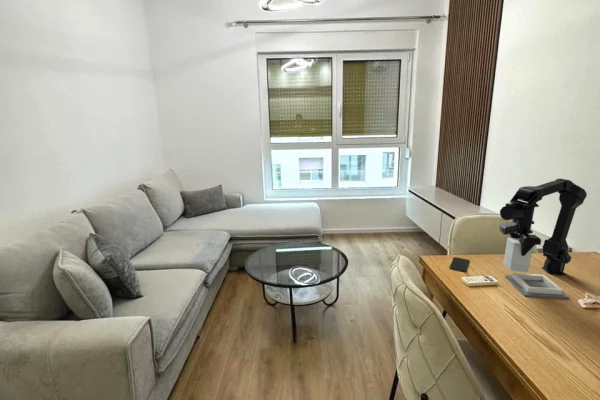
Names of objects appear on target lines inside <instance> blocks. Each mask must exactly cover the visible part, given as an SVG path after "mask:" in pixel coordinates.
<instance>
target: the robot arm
mask: <svg viewBox="0 0 600 400" xmlns="http://www.w3.org/2000/svg"><path fill="white" fill-rule="evenodd" d="M555 193H558V194H559V197H558V200H559V202H560V205H561V206H560V210H559V213H558V215H557V218H556V221H555V222H556V223H555V226H554V229H553V231H552V232H553V233H552V235H551V236H550V237H549V238H548V239H545V240H544V242H543V244H542V238H540V237H539V236H538V235H536V234H533V232H534V231H533V230H532V225H535V221H534V220H533V218H534V213H535V208H539V207H540V206H539V204H538V202H540V201H541V200H543V197H545V196H548V195H552V194H555ZM587 195H588V194H587V191H586V190H585V188H583V187H581V186H579V185H577V184H576V183H574V182H573V181H572V180H570V179H565V178H557V179H555V180H553V181H549V182H545V183H541V184H540V185H536V186H532V185H531V186H530V185H527V186H520V187H519V188H518V190H516V192H515V193H514V195H513V196H512V198H511V199H510V201H509V202H506V203H505V206H502V207H501V209H500V210H499V214H500V217H501V219H502V220H505V221H508V222H504V223H500V224H498V226H499V227H498V228H499V231H500V233H502V234H503V235H509V238H520V241H519V240H518V241H519V242H520V243H521V255H522V256H525V255H526V254H527V253H528V251H529V250H530V249H531V248H532V247H533V248H534V247H535V246H540V245H541V244H542V256H543V257H545V258H546V259H545V260H544V265H543V266H541V267H542V269H543V270H544V271H546V272H547V273H548V274H550V275H563V276H566V275H567V273H566V272H564V271H565V267H566V264H569V263H570V262H571V260H572V256H571V255H570V253H569V252H568V251H569V245H568V242H567V238H568V234H569V232H570V228H571V224H572V221H573V219H574V216H575V213H576V210H577V208H579V207H580V206H581V205H582V204H583V203H584V202H585V199H586V198H587ZM510 220H512V221H510Z"/></svg>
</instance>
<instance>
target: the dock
mask: <svg viewBox="0 0 600 400" xmlns="http://www.w3.org/2000/svg"><path fill="white" fill-rule="evenodd" d="M504 277H505V278H506V279H507V280H508V281H509V282H510V283H511V284H512V285H513V286H514V287H515V288H516V289H517V291H519V292H520V293H521V295H522V296H524V297H532V298H546V299H561V300H569V299H570V296H569V295H567V294H566V293H565V292H564V291H563V289H562V288H561V287H560V286H559V285H557V284H556V283H555V282H553V281H552V280H551V279H550V278H549V277H547V276H546V275H544V274H537V273H536V274H534V273H533V274H532V273H517V272H514V273H512V274H510V275H509V274H508V275H507V274H505V276H504Z"/></svg>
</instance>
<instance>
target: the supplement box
mask: <svg viewBox="0 0 600 400" xmlns="http://www.w3.org/2000/svg"><path fill="white" fill-rule="evenodd" d="M518 240H519V241H520V238H511V237H507V240H506V245H505V251H504V257H503V262H502V263H503V265H504V267H506V269H507V270H509V272H521V273H528V272H529V269H530V266H531V265H530V264H531V259H532V253H533V249H534V247H532V248H531V249H530V250H529V251H528V253H527V254H526V255H525V256H522V255H521V243H520V242H519V241H518Z"/></svg>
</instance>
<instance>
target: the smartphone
mask: <svg viewBox="0 0 600 400" xmlns="http://www.w3.org/2000/svg"><path fill="white" fill-rule="evenodd" d="M470 261H471V260H470V259H466V258H463V257H462V258H461V257H458V256H457V257H456V256H454V257H453V258H452V261H451V262H450V265H449V266H448V268H449V270H452V271H456V272H457V271H458V272H461V273H467V272H468V268H469V265H470V263H471V262H470Z"/></svg>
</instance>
